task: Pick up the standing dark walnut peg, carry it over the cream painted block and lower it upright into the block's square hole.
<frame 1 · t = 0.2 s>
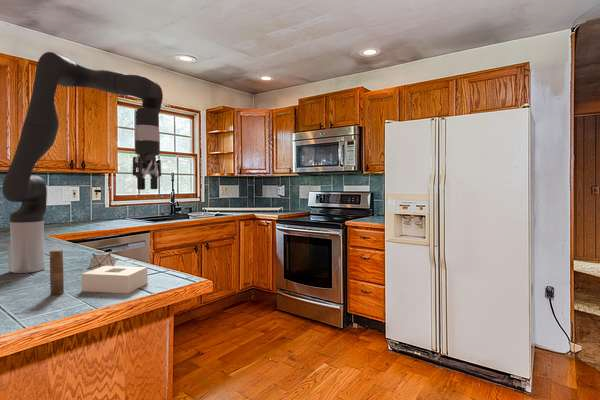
hand: (147, 189, 114), 29 cm above the table, fingers open, 8 cm apart
hole block: (116, 286, 102), on the table
game die: (103, 276, 114), on the table
peg: (57, 293, 96), on the table
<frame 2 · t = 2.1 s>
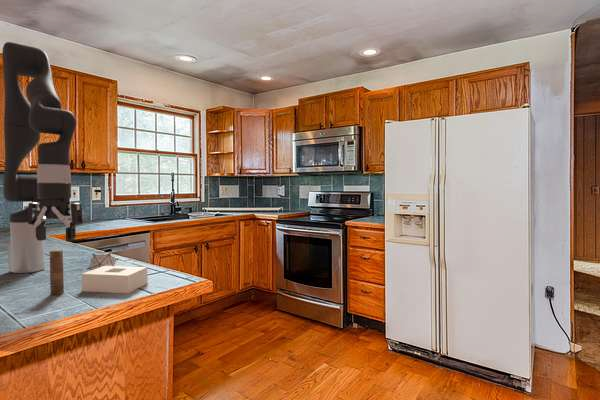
hand: (55, 240, 95), 15 cm above the table, fingers open, 8 cm apart
nothing on the table moved.
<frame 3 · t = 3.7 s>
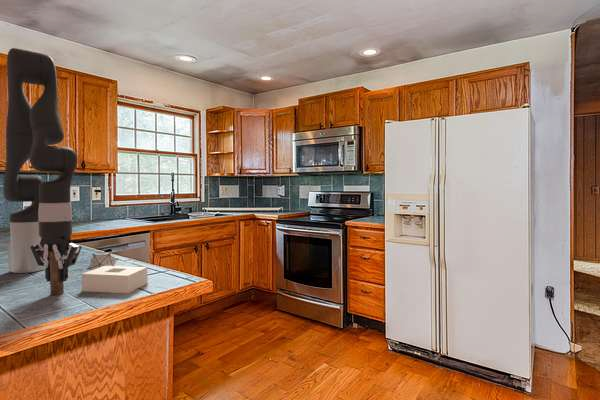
hand: (56, 280, 95), 4 cm above the table, fingers closed on peg, 3 cm apart
peg: (57, 293, 96), on the table, touching gripper
everything else where it was.
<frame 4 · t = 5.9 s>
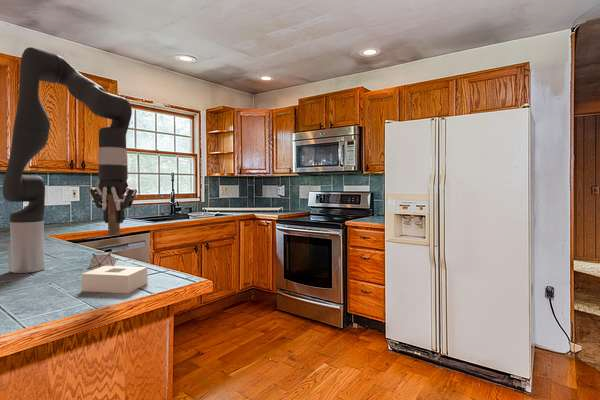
hand: (114, 222, 101), 19 cm above the table, fingers closed on peg, 3 cm apart
peg: (114, 235, 101), point 16 cm above the table, touching gripper
everything else where it was.
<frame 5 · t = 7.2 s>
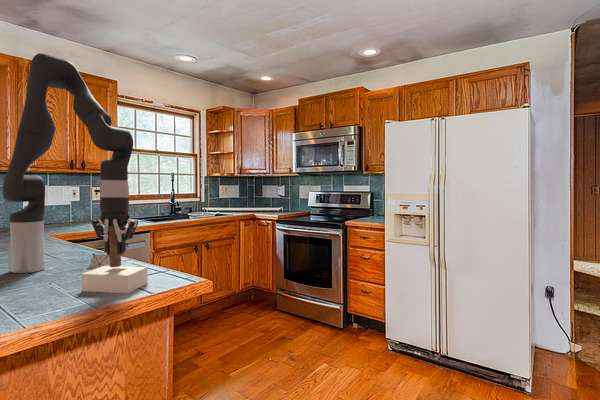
hand: (115, 253, 102), 10 cm above the table, fingers closed on peg, 3 cm apart
peg: (115, 266, 102), point 6 cm above the table, touching gripper
everything else where it was.
when the fingers open (6 cm above the table, at t = 8.2 s): peg drops 2 cm, resting in hole block.
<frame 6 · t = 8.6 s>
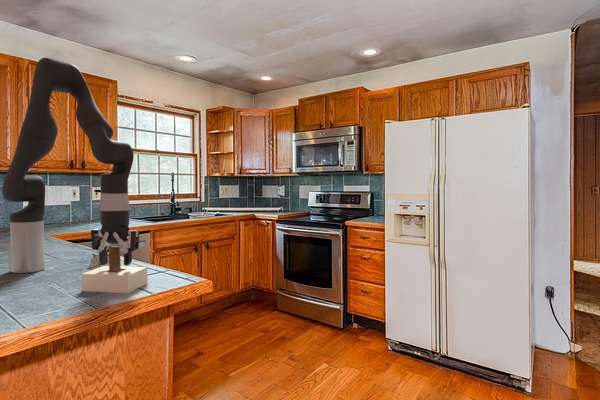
hand: (115, 264, 102), 7 cm above the table, fingers open, 6 cm apart
peg: (115, 287, 102), resting in hole block
everything else where it was.
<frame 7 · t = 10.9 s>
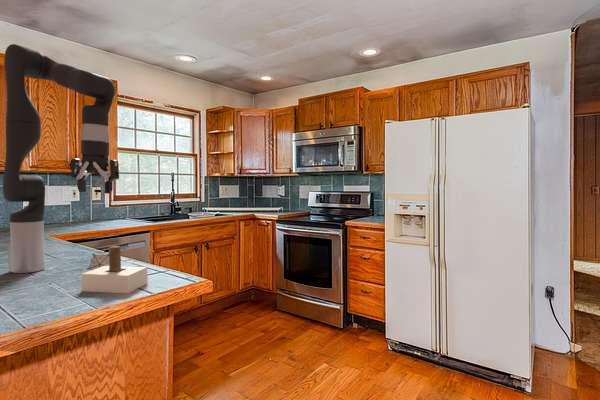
hand: (95, 192, 107), 28 cm above the table, fingers open, 8 cm apart
nothing on the table moved.
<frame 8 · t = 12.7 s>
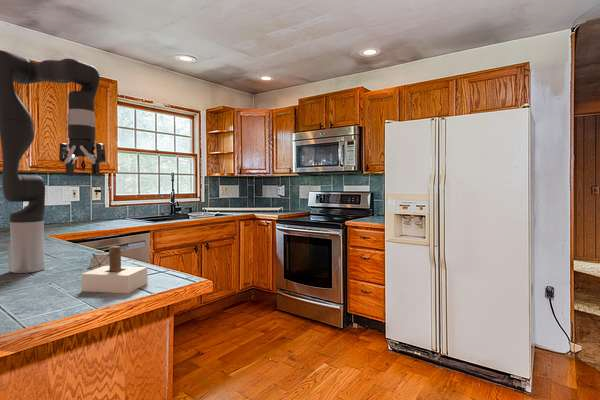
hand: (82, 175, 111), 33 cm above the table, fingers open, 8 cm apart
nothing on the table moved.
at the end: peg 0.2 cm off-centre on the hole block, point 0.0 cm above the hole block's base; peg tilted 0°; the gripper is holding nothing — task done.
